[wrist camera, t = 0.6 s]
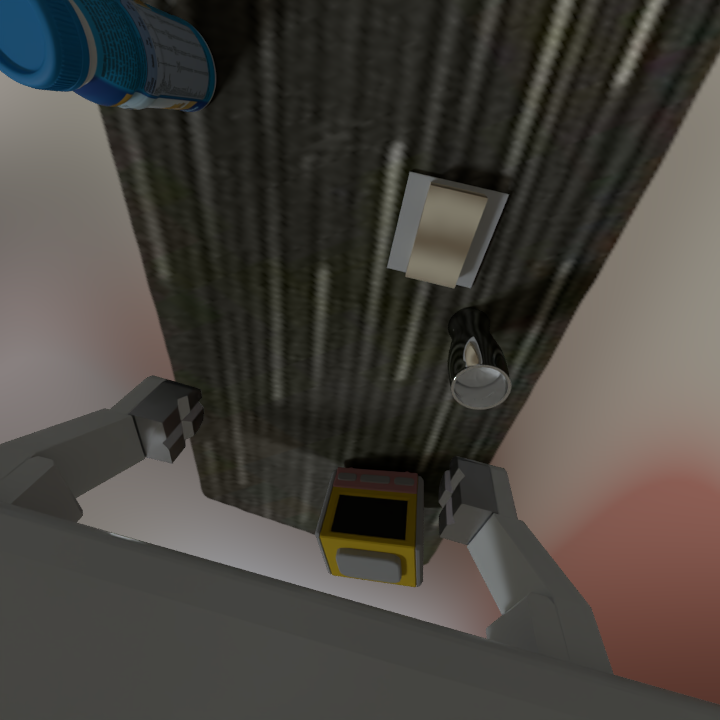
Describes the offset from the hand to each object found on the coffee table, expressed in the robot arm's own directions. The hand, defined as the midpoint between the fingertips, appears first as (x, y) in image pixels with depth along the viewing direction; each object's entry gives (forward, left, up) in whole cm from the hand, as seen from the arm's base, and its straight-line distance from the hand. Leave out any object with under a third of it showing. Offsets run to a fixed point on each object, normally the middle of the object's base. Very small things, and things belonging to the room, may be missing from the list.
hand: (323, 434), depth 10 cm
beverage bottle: (-9, -28, -40) cm, 49 cm away
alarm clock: (+58, +10, -40) cm, 71 cm away
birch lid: (+2, +6, -39) cm, 39 cm away
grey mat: (+2, +6, -39) cm, 40 cm away
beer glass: (+14, +14, -40) cm, 44 cm away
